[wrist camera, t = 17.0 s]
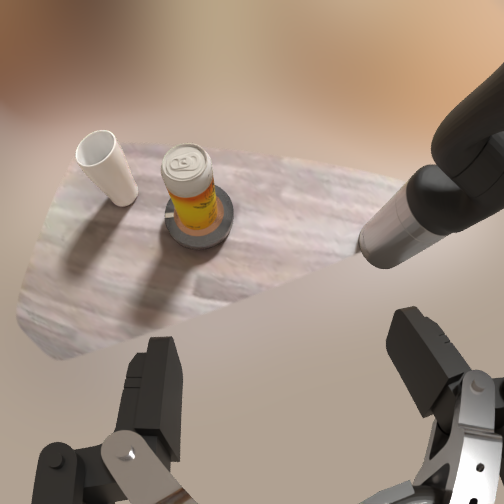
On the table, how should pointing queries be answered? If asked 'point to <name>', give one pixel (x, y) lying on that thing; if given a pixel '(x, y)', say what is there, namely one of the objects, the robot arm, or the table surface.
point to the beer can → (190, 185)
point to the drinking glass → (107, 167)
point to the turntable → (204, 236)
